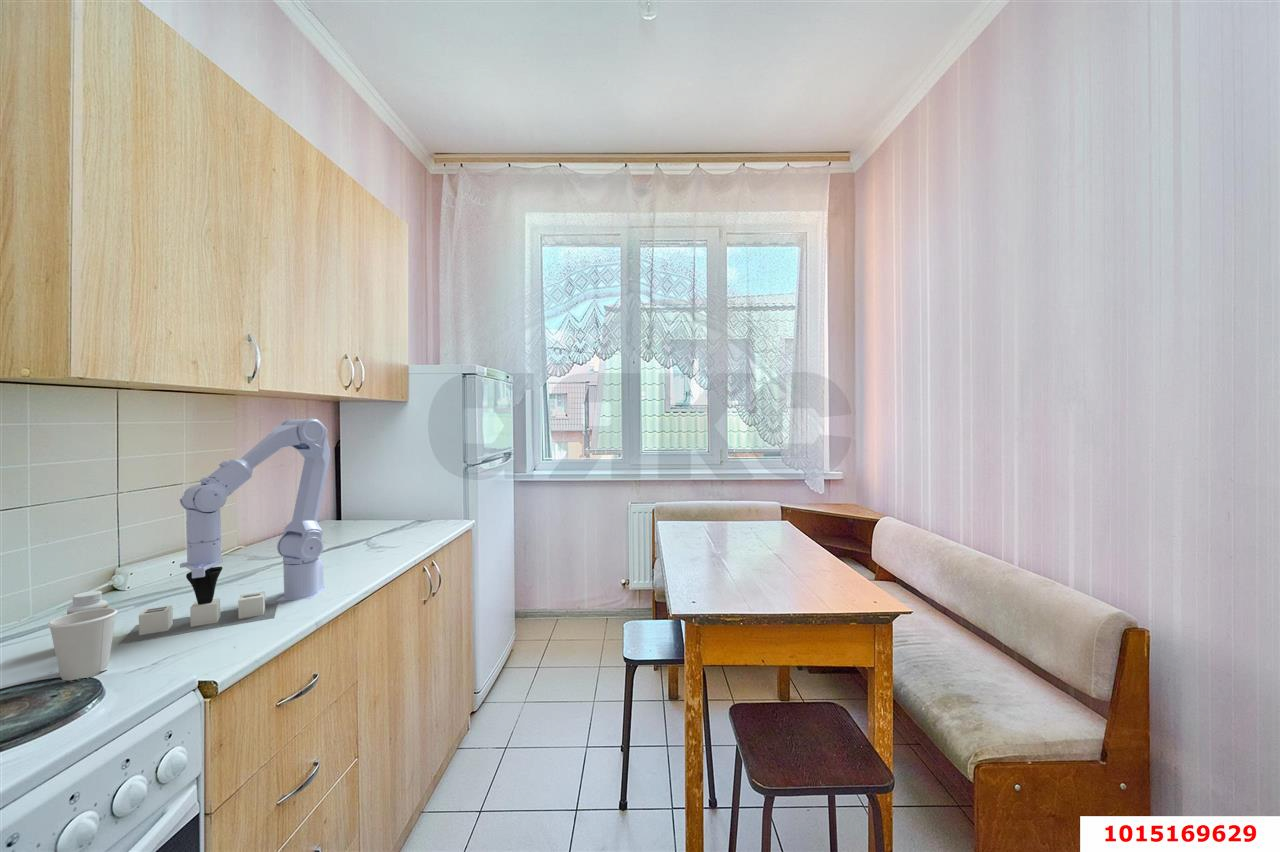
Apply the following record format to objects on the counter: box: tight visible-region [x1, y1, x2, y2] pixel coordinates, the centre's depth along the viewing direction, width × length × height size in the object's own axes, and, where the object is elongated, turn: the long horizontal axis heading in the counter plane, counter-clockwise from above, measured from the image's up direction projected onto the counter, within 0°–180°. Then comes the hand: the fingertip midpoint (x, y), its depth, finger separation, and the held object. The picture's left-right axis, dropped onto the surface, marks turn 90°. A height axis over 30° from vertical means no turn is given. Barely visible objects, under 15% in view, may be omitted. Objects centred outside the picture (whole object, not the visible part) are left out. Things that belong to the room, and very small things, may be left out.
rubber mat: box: [117, 602, 279, 645], centre depth 115 cm, size 25×12×1 cm, turn 121°
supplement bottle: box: [66, 590, 109, 615], centre depth 105 cm, size 6×6×10 cm
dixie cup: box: [47, 607, 118, 681], centre depth 92 cm, size 8×8×10 cm
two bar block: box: [138, 604, 174, 635], centre depth 111 cm, size 4×4×4 cm
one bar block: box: [237, 591, 266, 619], centre depth 119 cm, size 4×4×4 cm
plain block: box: [189, 598, 221, 627], centre depth 115 cm, size 4×4×4 cm
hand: (205, 603), depth 115 cm, fingers closed, pressing on plain block
